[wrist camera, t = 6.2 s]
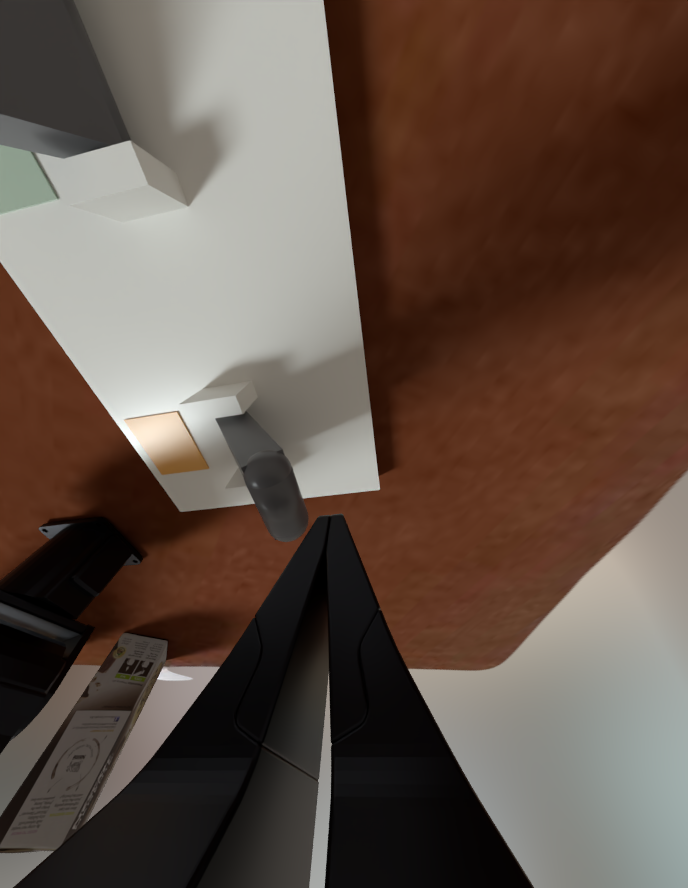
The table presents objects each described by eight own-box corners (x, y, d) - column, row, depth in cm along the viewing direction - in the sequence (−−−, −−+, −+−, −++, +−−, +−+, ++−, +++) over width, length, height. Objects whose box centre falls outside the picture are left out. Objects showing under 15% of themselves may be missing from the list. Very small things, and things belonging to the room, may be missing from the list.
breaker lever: (238, 471, 16) (282, 559, 10) (209, 411, 14) (241, 476, 8) (264, 460, 17) (319, 534, 11) (240, 401, 15) (292, 453, 9)
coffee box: (121, 631, 35) (-28, 853, 21) (169, 639, 36) (59, 854, 22) (124, 654, 39) (2, 850, 25) (167, 661, 40) (73, 851, 27)
